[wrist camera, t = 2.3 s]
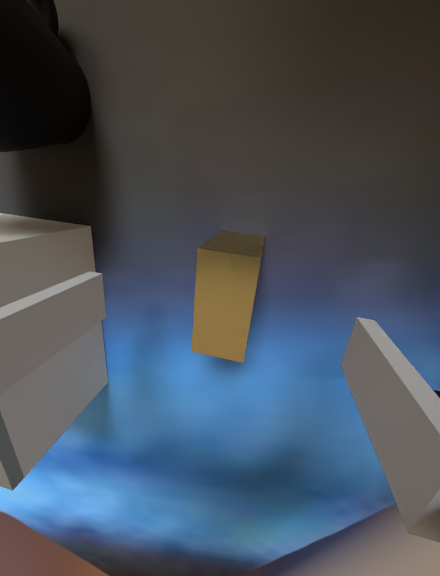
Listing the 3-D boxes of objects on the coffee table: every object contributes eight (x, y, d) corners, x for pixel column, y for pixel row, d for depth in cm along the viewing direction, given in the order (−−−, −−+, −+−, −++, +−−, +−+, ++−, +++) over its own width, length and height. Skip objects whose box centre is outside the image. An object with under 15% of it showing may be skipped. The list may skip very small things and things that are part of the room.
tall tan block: (222, 230, 17) (197, 248, 11) (265, 236, 16) (260, 257, 11) (215, 306, 19) (191, 351, 14) (252, 313, 19) (243, 363, 13)
